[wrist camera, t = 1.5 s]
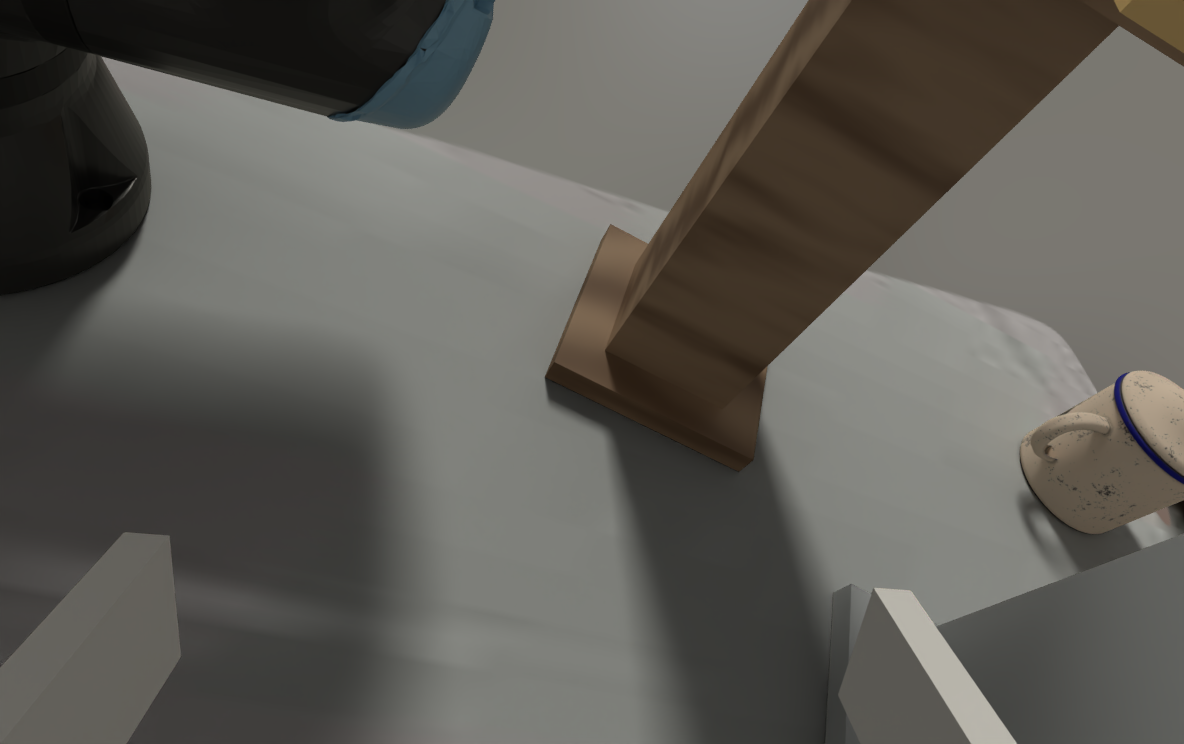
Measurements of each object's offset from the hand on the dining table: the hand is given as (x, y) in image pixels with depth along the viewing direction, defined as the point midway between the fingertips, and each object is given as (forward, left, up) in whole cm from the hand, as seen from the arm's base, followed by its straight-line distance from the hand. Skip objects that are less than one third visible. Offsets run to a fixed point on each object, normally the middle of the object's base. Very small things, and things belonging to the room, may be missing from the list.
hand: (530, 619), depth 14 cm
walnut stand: (-15, +25, -20) cm, 35 cm away
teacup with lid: (+4, +51, -20) cm, 55 cm away
